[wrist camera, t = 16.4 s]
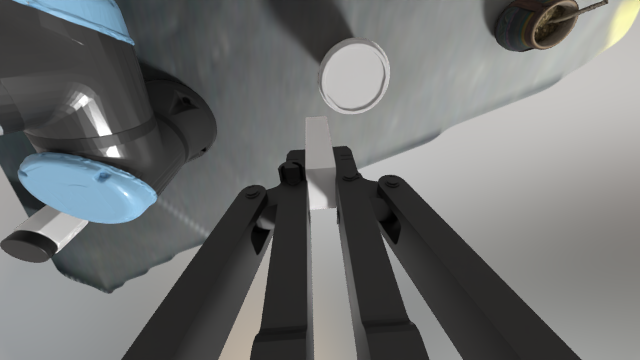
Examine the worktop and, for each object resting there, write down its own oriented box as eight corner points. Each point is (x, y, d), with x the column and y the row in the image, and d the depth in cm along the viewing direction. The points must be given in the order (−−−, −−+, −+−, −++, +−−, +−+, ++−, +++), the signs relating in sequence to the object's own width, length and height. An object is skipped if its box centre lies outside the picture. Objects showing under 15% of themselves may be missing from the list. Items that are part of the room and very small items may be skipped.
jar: (87, 227, 62) (46, 268, 53) (50, 214, 59) (-1, 255, 49) (93, 208, 58) (50, 249, 49) (54, 193, 55) (-1, 233, 45)
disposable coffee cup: (310, 39, 37) (309, 51, 28) (369, 22, 36) (390, 28, 26) (324, 97, 43) (327, 124, 33) (375, 84, 41) (394, 108, 32)
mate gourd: (478, 25, 36) (526, 29, 28) (529, -23, 33) (599, -34, 25) (499, 58, 39) (547, 71, 31) (547, 18, 36) (614, 19, 28)
